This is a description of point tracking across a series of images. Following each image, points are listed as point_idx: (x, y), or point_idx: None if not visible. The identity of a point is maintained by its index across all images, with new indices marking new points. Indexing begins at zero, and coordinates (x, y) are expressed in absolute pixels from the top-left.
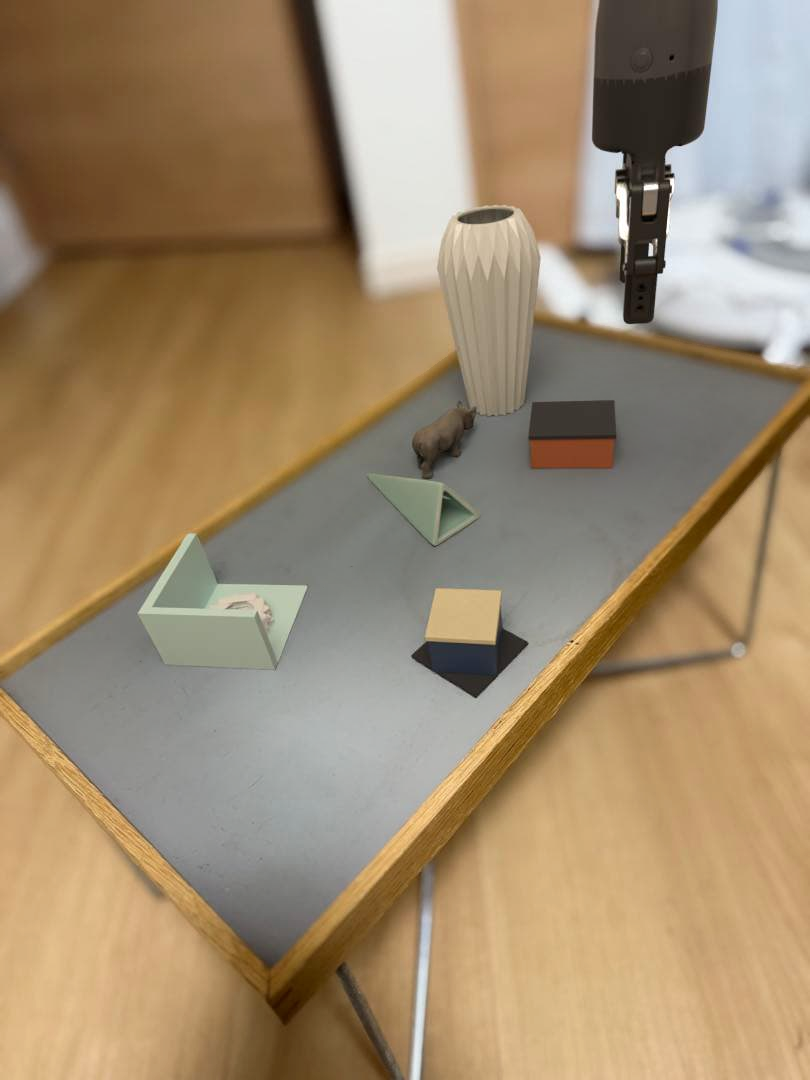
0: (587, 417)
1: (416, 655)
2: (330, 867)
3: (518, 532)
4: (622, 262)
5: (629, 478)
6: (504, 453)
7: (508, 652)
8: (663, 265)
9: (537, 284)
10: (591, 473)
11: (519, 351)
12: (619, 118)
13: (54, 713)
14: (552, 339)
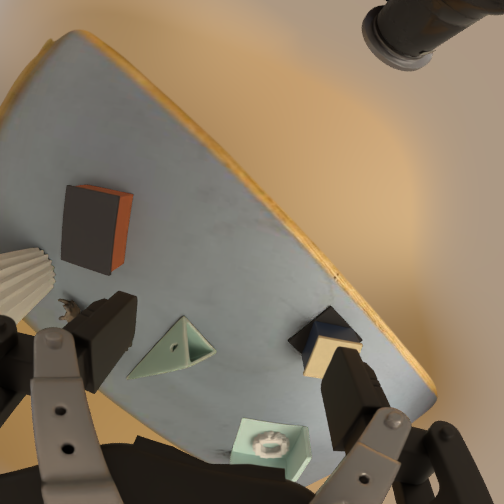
0: (88, 216)
1: None
2: (418, 391)
3: (208, 290)
4: (117, 359)
5: (150, 183)
6: (101, 279)
7: (336, 319)
8: (460, 435)
9: None
10: (137, 213)
11: (14, 270)
12: None
13: (304, 483)
14: None
